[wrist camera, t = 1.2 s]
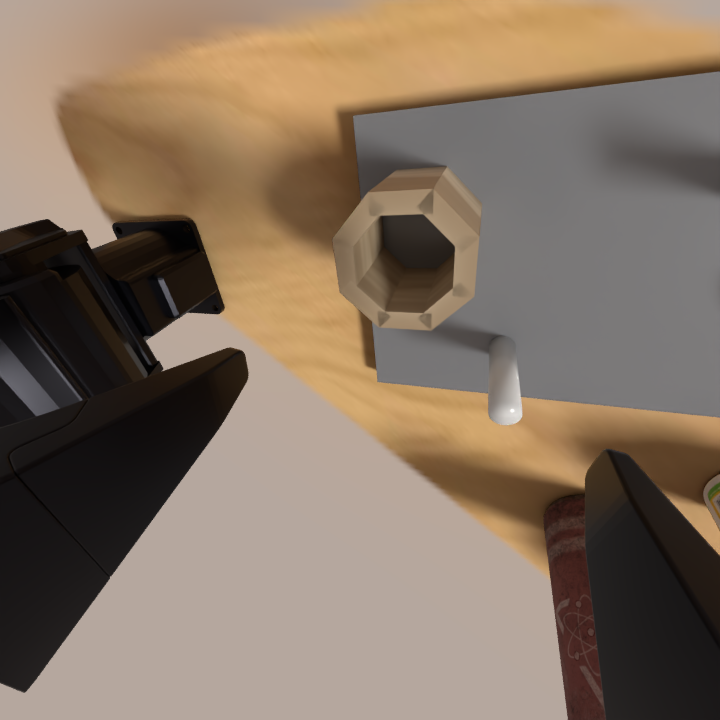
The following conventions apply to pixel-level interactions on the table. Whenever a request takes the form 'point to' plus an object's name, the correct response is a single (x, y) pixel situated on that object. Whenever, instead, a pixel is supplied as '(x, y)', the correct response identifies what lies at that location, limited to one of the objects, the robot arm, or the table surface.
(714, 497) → the supplement bottle
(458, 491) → the table surface
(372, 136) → the slate board
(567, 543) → the can
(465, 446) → the table surface
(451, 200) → the napkin ring
